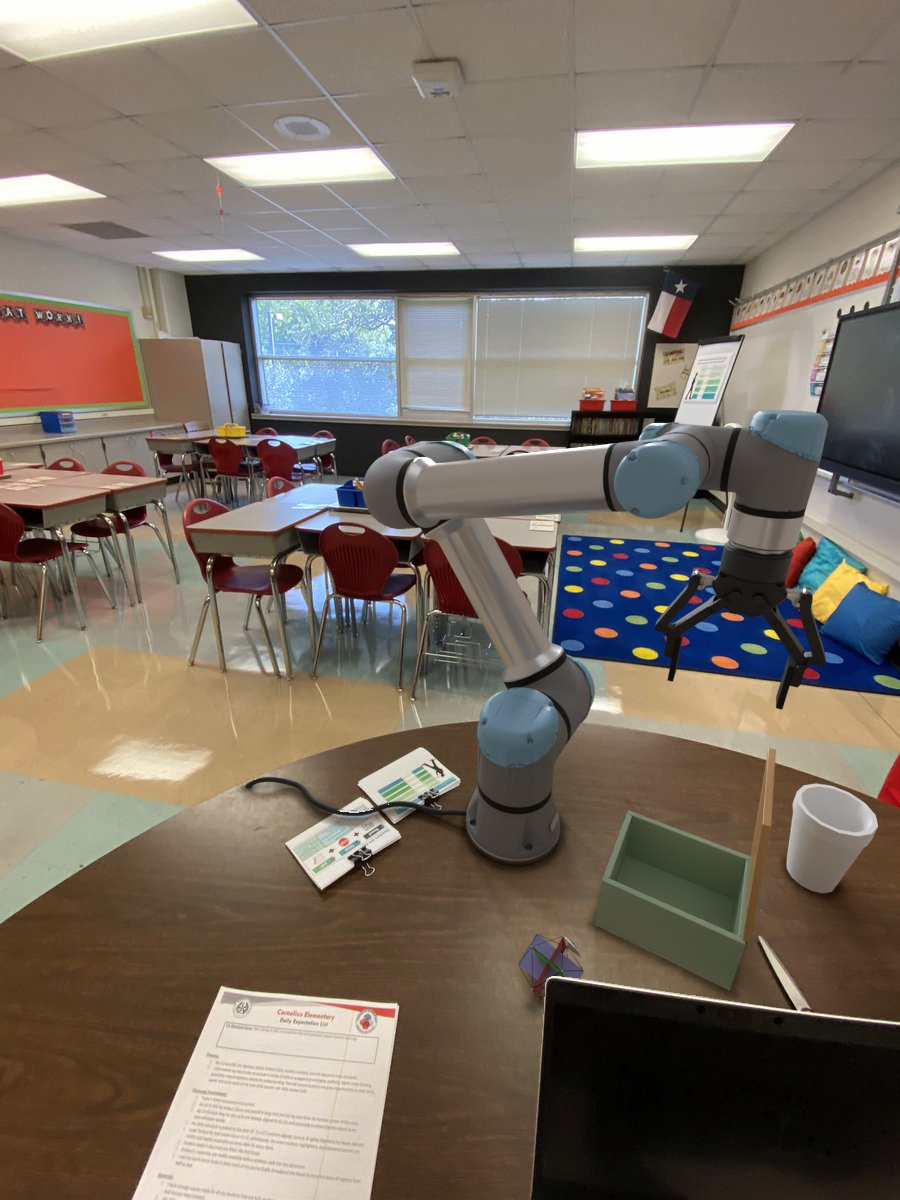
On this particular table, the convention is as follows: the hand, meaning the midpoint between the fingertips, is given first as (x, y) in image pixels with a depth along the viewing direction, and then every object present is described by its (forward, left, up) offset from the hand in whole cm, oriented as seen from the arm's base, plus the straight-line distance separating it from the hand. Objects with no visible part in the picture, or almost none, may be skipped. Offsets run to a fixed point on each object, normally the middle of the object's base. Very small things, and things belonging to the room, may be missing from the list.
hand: (723, 689), depth 75 cm
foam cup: (+17, +2, -28) cm, 33 cm away
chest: (0, -15, -28) cm, 32 cm away
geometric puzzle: (-11, -32, -28) cm, 44 cm away
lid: (+7, -15, -10) cm, 20 cm away
